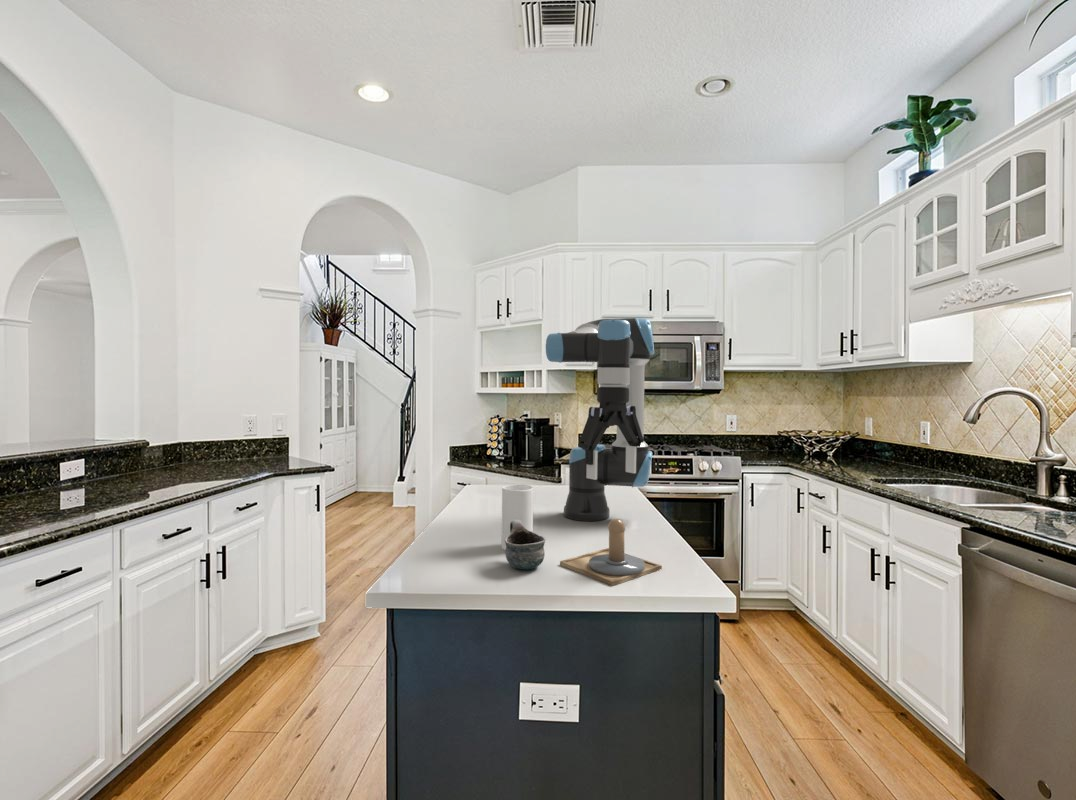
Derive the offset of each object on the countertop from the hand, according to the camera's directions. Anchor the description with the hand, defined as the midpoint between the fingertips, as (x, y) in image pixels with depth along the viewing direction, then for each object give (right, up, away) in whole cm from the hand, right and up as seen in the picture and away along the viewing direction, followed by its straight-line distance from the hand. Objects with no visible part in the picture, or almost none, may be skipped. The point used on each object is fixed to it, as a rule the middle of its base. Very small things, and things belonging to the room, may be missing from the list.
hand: (611, 475), depth 128 cm
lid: (+1, -21, -1) cm, 21 cm away
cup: (-23, -21, +15) cm, 35 cm away
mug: (-22, -22, +1) cm, 31 cm away
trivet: (0, -22, +1) cm, 22 cm away
